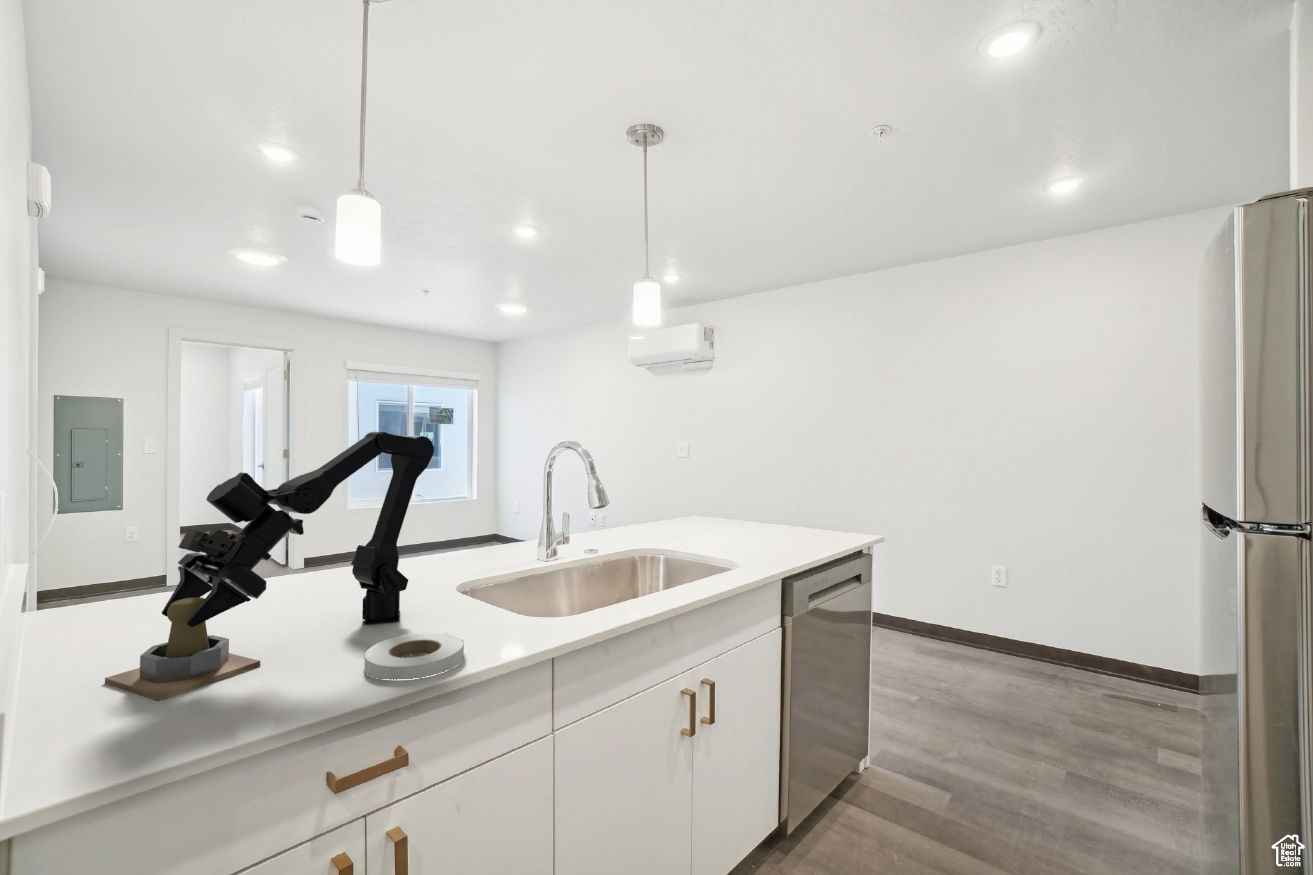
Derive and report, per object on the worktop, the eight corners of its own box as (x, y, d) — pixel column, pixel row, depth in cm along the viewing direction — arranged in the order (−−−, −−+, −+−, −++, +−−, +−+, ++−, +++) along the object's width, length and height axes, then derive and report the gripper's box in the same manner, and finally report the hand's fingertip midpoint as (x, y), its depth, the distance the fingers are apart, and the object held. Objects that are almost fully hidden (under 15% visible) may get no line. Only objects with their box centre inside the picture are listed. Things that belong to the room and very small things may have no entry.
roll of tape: (387, 692, 85) (387, 673, 85) (350, 664, 96) (350, 646, 96) (480, 664, 97) (481, 647, 97) (438, 641, 107) (438, 626, 107)
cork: (218, 666, 91) (220, 597, 91) (171, 679, 86) (173, 606, 86) (202, 658, 94) (203, 592, 94) (155, 670, 89) (157, 600, 89)
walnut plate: (207, 652, 99) (207, 647, 99) (260, 665, 94) (260, 660, 94) (104, 683, 86) (104, 677, 86) (159, 700, 81) (159, 695, 81)
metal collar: (201, 653, 96) (202, 632, 96) (239, 663, 93) (240, 641, 93) (128, 675, 87) (129, 652, 87) (167, 687, 83) (167, 663, 83)
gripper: (193, 505, 98) (106, 582, 89) (246, 514, 89) (154, 602, 79) (244, 544, 105) (168, 620, 95) (298, 556, 95) (219, 641, 86)
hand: (176, 620), depth 89 cm, fingers open, 9 cm apart
